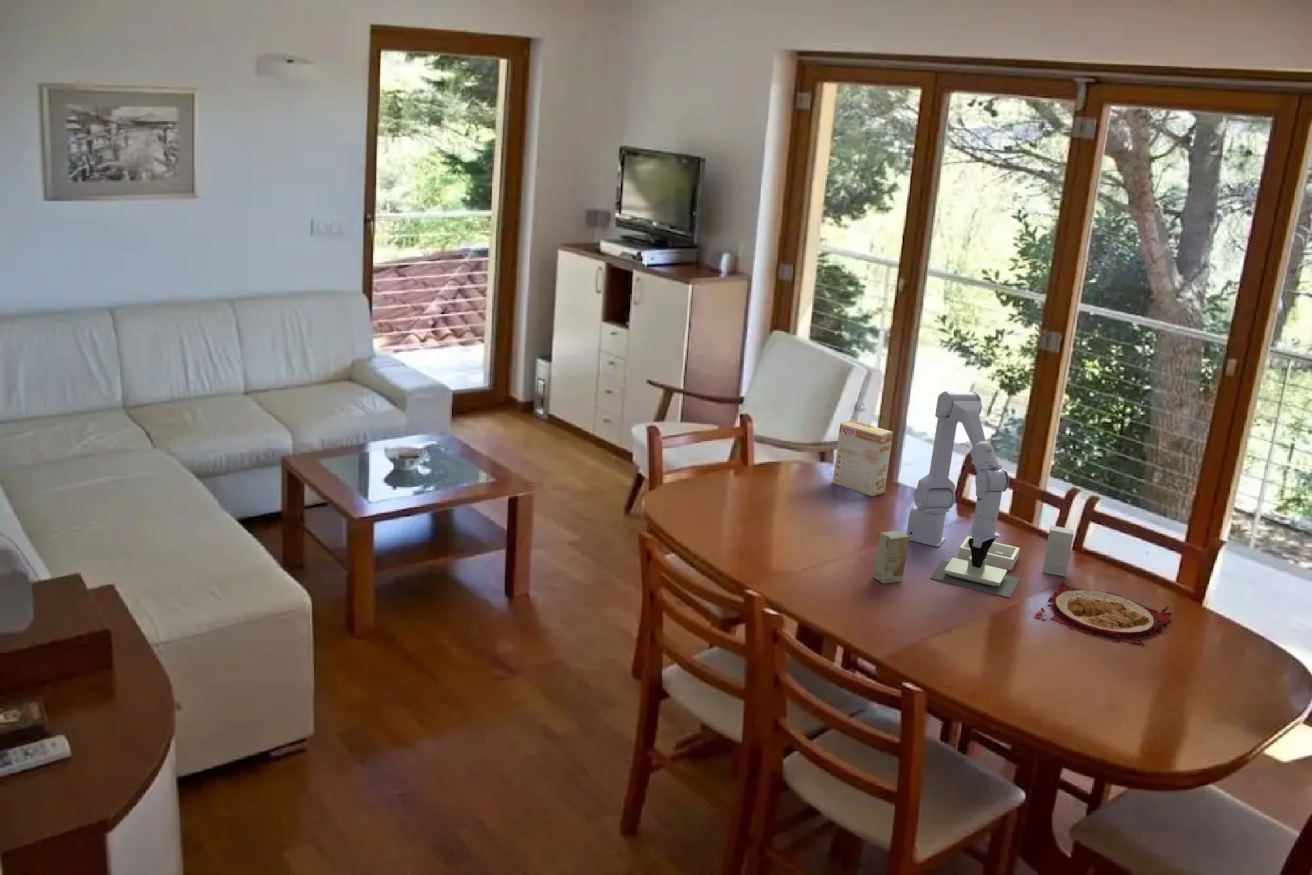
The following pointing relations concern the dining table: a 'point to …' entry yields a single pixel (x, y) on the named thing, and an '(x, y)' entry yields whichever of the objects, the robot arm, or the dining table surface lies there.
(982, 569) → the lid
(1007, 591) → the mat
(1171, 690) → the dining table surface
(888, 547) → the skincare box
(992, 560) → the parts tray
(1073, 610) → the plate with food
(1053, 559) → the skincare box
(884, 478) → the coffeecake box
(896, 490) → the dining table surface
